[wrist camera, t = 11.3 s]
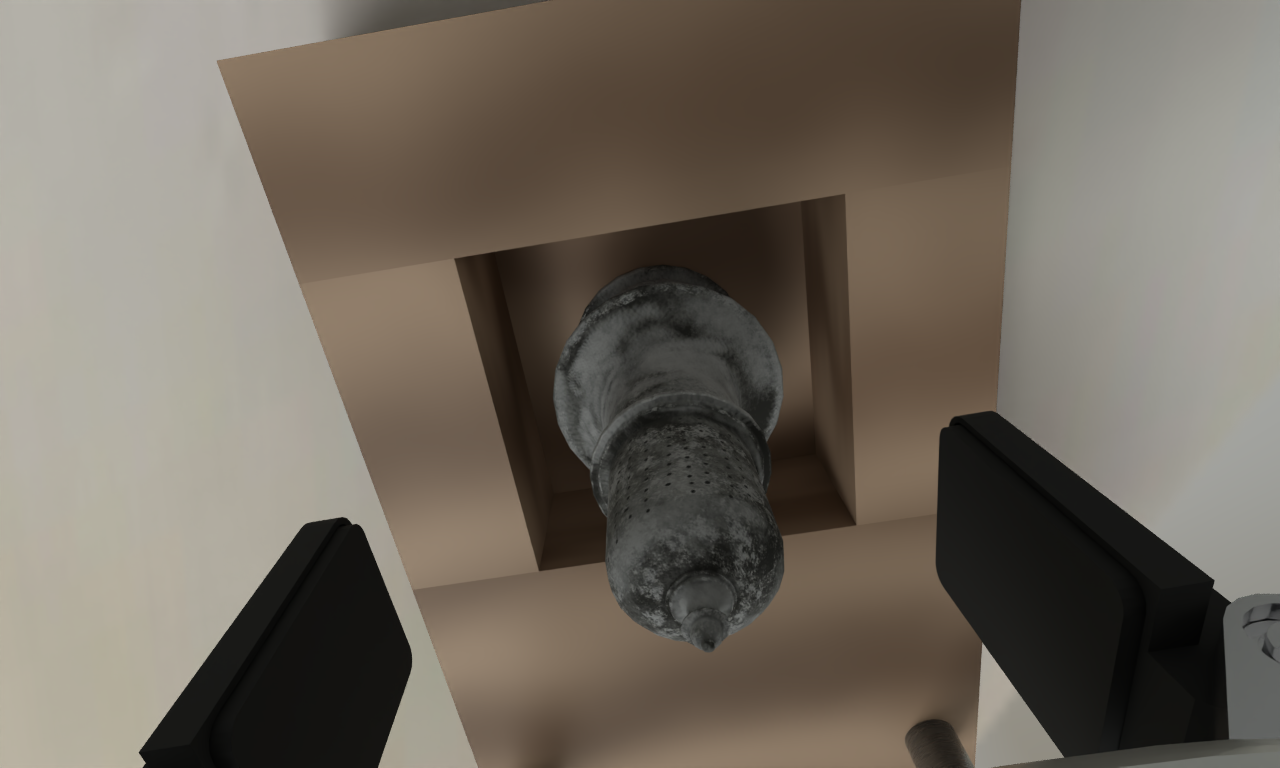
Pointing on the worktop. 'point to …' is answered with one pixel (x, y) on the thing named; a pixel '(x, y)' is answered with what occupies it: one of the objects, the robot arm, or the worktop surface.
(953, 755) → the grey metal arch
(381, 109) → the socket board
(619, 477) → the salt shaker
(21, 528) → the worktop surface
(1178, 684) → the robot arm
